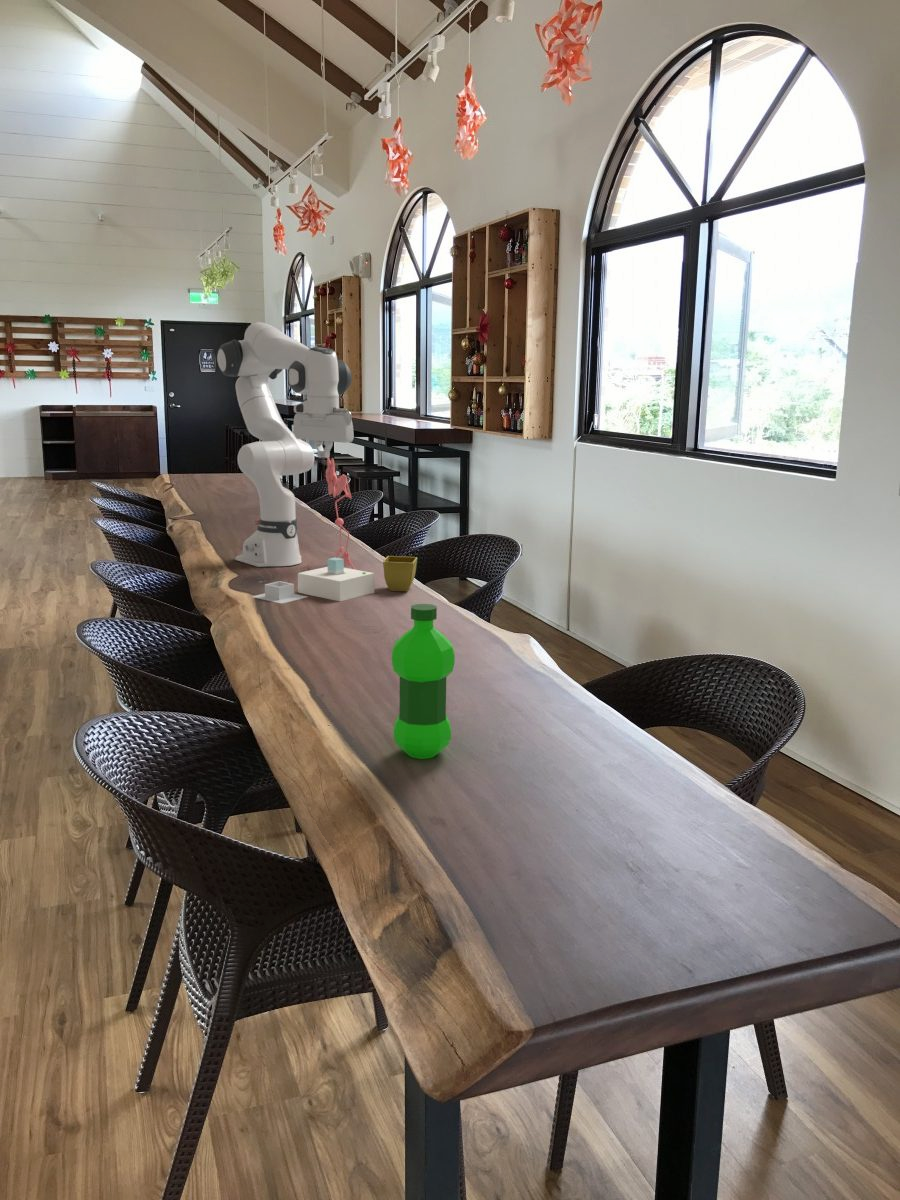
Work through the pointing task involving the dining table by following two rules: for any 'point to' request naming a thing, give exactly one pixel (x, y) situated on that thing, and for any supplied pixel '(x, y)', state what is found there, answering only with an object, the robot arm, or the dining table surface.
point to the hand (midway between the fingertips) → (323, 457)
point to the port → (336, 584)
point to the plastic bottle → (422, 685)
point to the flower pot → (399, 572)
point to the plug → (335, 566)
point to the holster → (279, 593)
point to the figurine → (340, 483)
